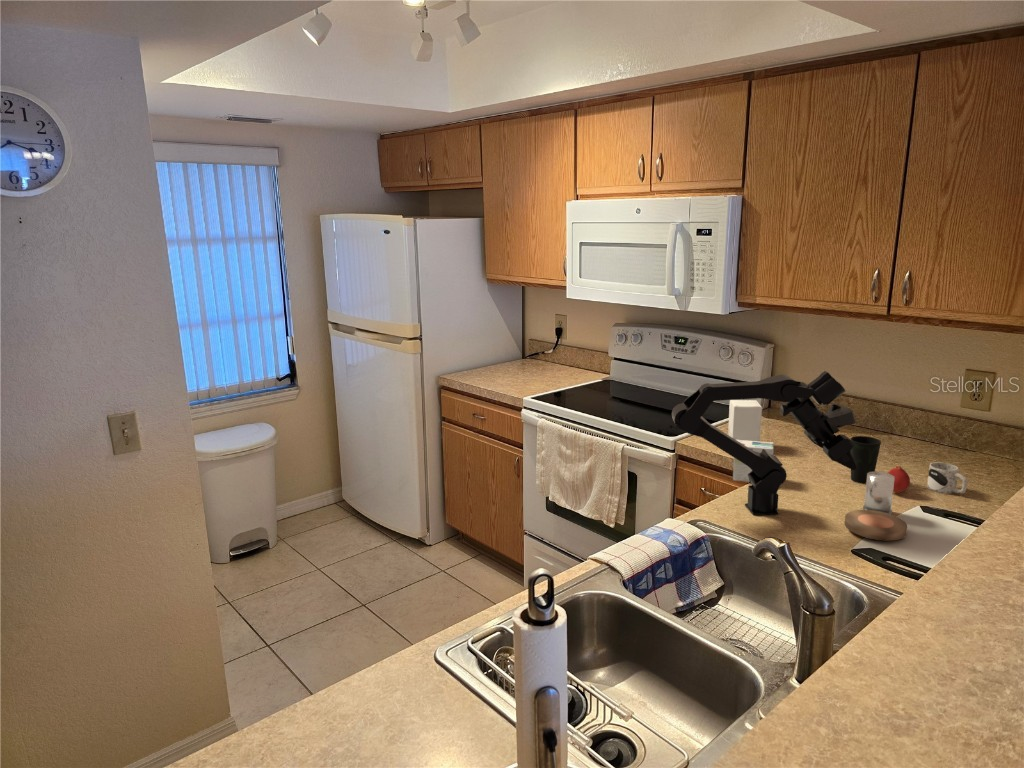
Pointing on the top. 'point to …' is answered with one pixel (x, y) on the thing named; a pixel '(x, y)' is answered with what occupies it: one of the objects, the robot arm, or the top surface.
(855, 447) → the cup
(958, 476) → the mug
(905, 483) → the onion
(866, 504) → the canister
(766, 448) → the light bulb box
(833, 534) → the top surface
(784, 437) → the top surface
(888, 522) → the turntable
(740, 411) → the supplement box
